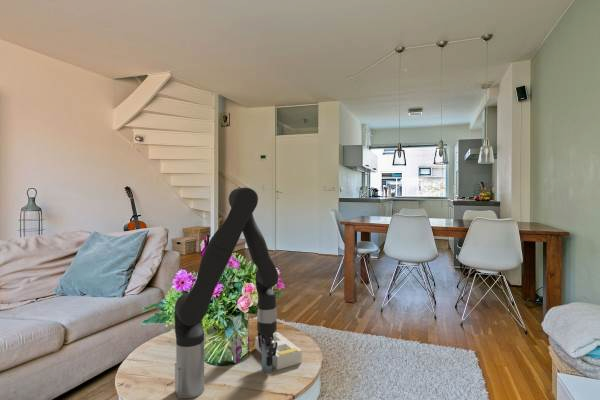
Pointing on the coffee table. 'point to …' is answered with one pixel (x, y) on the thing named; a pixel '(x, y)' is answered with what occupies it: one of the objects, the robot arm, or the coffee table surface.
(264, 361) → the blue-grey upright block
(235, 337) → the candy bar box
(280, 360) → the socket board
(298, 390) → the coffee table surface
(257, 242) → the robot arm
